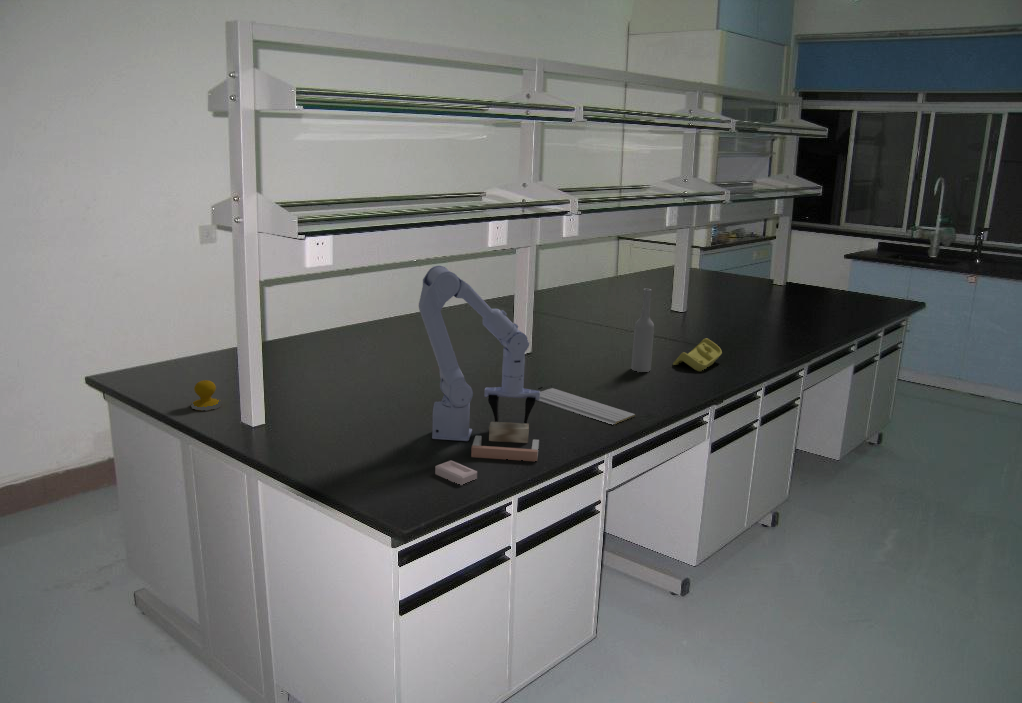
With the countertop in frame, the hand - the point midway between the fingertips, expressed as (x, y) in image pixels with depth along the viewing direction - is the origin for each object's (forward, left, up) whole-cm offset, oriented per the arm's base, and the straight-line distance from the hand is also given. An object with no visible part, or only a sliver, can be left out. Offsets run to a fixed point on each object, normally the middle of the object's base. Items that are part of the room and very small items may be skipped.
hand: (511, 423), depth 213 cm
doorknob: (-85, +3, -2) cm, 85 cm away
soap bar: (-10, -31, -3) cm, 33 cm away
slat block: (0, -6, -2) cm, 7 cm away
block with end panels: (0, -15, -2) cm, 16 cm away
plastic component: (+60, +77, -2) cm, 98 cm away
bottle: (+39, +65, -2) cm, 76 cm away
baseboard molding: (+18, +22, -3) cm, 28 cm away
